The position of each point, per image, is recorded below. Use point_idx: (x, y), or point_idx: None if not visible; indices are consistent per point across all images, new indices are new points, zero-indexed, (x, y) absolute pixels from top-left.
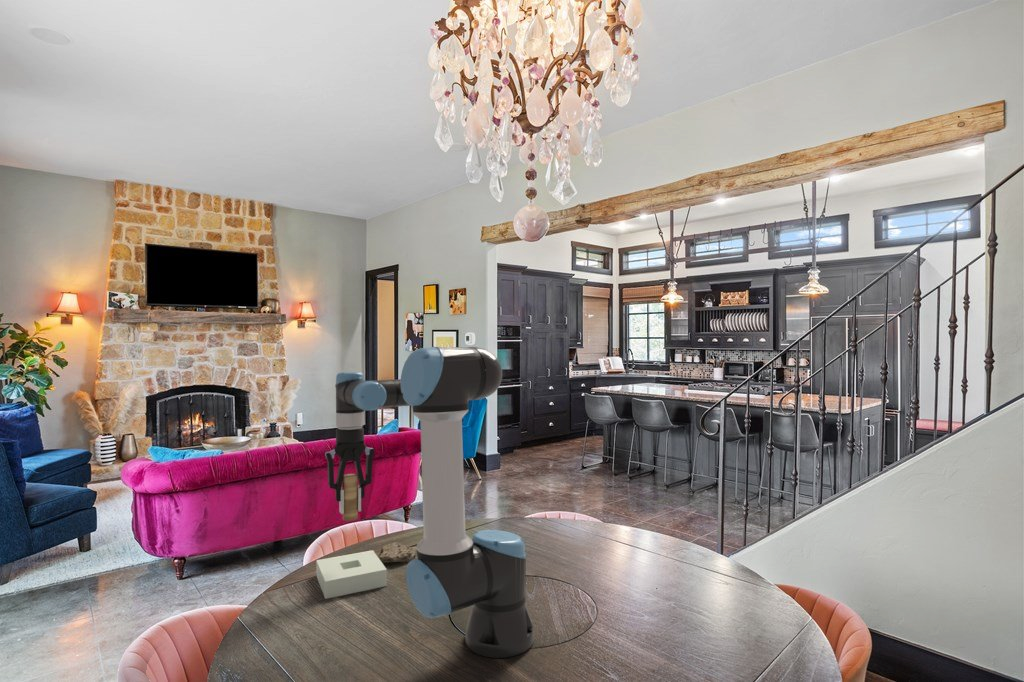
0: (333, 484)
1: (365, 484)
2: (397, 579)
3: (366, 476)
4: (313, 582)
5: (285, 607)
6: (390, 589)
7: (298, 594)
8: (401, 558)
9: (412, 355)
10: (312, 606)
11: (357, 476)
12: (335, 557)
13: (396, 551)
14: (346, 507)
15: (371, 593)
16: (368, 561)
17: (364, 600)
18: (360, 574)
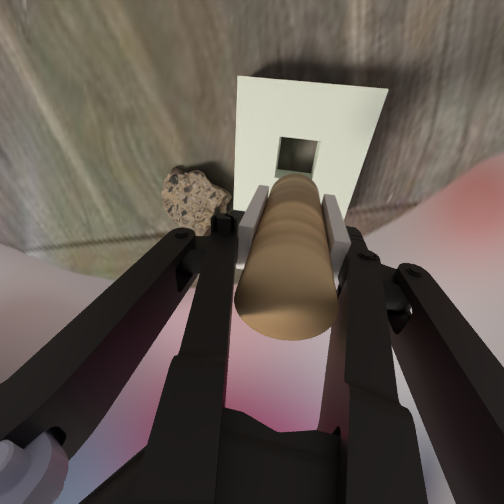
0: (410, 277)
1: (207, 239)
2: (217, 102)
3: (182, 283)
4: (354, 189)
5: (463, 97)
6: (244, 52)
7: (404, 151)
8: (190, 172)
9: None
10: (419, 63)
11: (239, 281)
12: None
13: (192, 195)
14: (316, 198)
15: (286, 55)
16: (258, 155)
17: (314, 19)
18: (301, 81)
